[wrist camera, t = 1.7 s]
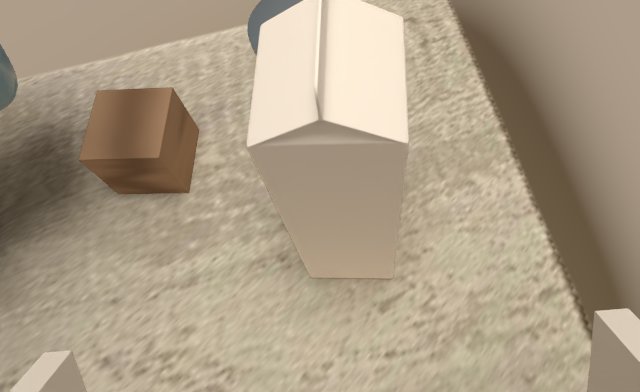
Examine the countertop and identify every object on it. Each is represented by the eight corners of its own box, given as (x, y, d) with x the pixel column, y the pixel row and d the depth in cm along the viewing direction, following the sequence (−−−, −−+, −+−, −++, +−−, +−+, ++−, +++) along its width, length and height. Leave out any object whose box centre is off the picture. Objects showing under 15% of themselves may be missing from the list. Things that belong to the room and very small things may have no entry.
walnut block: (119, 194, 39) (78, 159, 34) (133, 132, 42) (97, 90, 36) (189, 193, 39) (158, 157, 33) (199, 130, 41) (172, 87, 36)
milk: (391, 202, 36) (413, -56, 16) (393, 280, 34) (422, 88, 14) (311, 203, 37) (240, -45, 17) (308, 279, 34) (219, 94, 15)
